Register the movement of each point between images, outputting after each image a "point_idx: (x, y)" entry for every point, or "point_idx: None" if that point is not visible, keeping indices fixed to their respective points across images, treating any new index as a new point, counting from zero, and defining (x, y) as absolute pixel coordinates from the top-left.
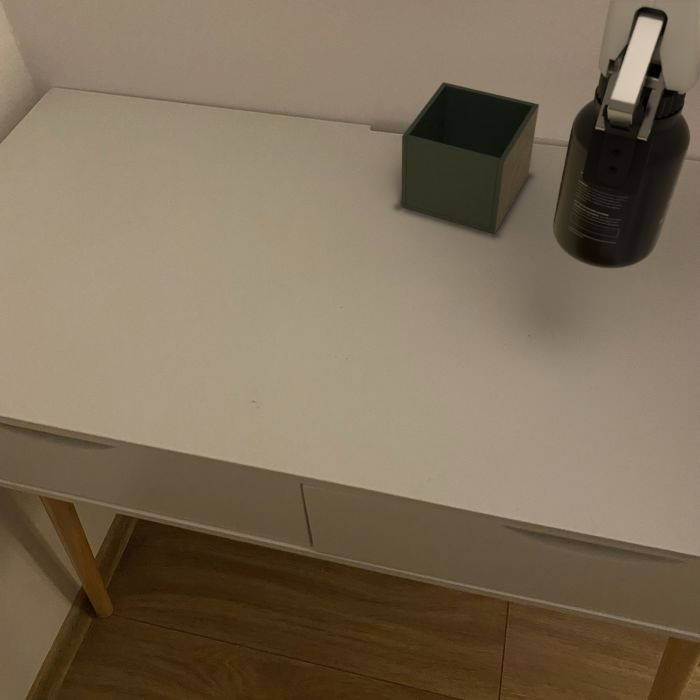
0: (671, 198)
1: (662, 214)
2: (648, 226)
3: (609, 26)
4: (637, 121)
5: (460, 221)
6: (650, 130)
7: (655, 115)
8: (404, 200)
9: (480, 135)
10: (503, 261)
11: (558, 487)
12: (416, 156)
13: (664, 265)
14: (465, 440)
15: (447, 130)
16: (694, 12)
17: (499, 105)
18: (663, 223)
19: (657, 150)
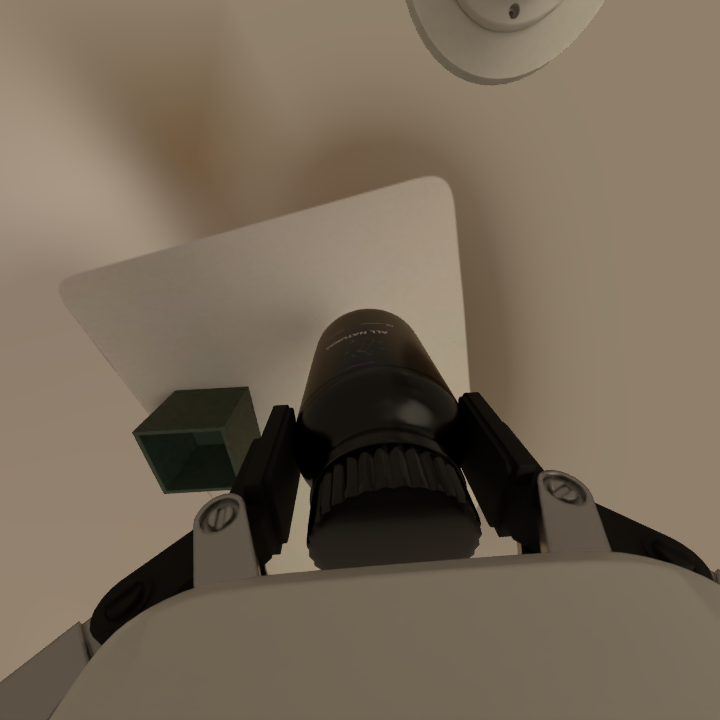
0: (378, 332)
1: (394, 330)
2: (412, 336)
3: None
4: (703, 564)
5: (252, 409)
6: (542, 480)
7: (549, 506)
8: None
9: (176, 439)
10: (269, 372)
11: (433, 272)
12: None
13: (197, 268)
14: (421, 335)
15: (186, 457)
16: None
17: (153, 452)
18: (371, 318)
19: (450, 415)
